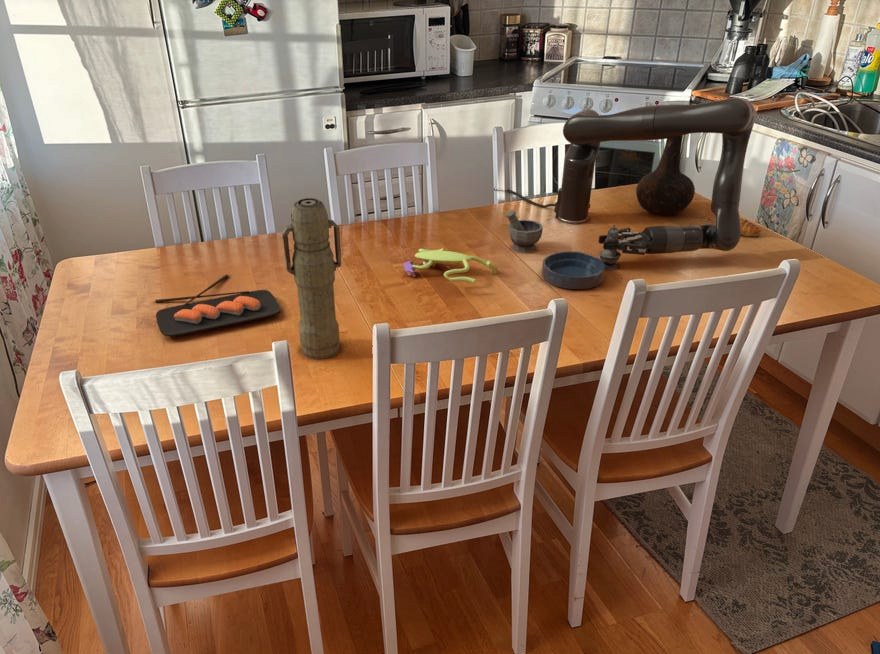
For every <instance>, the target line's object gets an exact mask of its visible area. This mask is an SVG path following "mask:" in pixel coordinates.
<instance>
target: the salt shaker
mask: <svg viewBox="0 0 880 654" xmlns="http://www.w3.org/2000/svg"><path fill="white" fill-rule="evenodd" d="M619 230H620V229H619V228H618V227H616V224H613V225H612V227H609V228H608V230H607V234H606V235H607V239H605V241H618V242H619V240H620V239H619V240H618V234H619ZM621 253H622V252H621V251H619V250H617V249H612V250H604V249H601V250H600V251H598V255H599V259H600V260H601V261H603V263H604V264H605V270H611V271H612V270H616V269H618V268H619V265H618V264H617V262H618V261H619V260H620V258H621V256H622V254H621Z"/></svg>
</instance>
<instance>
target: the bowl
mask: <svg viewBox="0 0 880 654" xmlns="http://www.w3.org/2000/svg"><path fill="white" fill-rule="evenodd" d="M605 271H606V269H605V264H604V263H603V261H602V260H601V259H600V257H596V256H594V255H592V254H589V253H586V252H579V251H558V252H553V253H551V254H549V255H547V256H545V257H544V258H543V260H542V268H541V276H542V278H543V279H544V280H545V281H546V282H547V283H548V284H551V285H553V286H556V287H559V288H564V289H567V290H568V289H569V290H570V289H571V290H586V289H593V288H594V287H597V286H599V285H601V284H602V283H603V281H604V278H605Z"/></svg>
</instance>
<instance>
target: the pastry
mask: <svg viewBox="0 0 880 654" xmlns="http://www.w3.org/2000/svg"><path fill="white" fill-rule="evenodd" d="M740 225H741V236H743V237H756V236H759V235H760V233H761V231H762V230H761V228H760V227H759V226H757V224H755V223H753V222H751V221H749V220H748V219H744V218H742V217H740Z"/></svg>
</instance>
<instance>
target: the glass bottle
mask: <svg viewBox="0 0 880 654" xmlns="http://www.w3.org/2000/svg"><path fill="white" fill-rule="evenodd" d="M683 136H684V135H682V136H678V137H673V138H668V139H666V141H665V144H664V148H663V150H662V151H663V152H662V155H661V158H660V160H659V162H658V165H657V167H656V168H655V169H654V171H651V172H649V173H647V174H645V175H644V176H643V177H641V179H640V180H639V181H638V183H637V185H636V188H635V189H636V190H635V195H636V200H637V202H638V204H639V206H640V207H641V208H642V209H643V210H644V211H646V212H648V213H650V214H653V215H658V216H672V215H677V214H678V213H681V212H682V211H684V210H685V209H686V208H687V207H688V206H690V204H691V203H692V201H693V200H694V198H695V194H696V188H695V187H696V186H695V185H694V182H693V181H692V179H691V178H690V177H688V176H687V175H686V174H684V173H682V172H681V168H680V167H681V166H680V165H681V153H682V144H683Z"/></svg>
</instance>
